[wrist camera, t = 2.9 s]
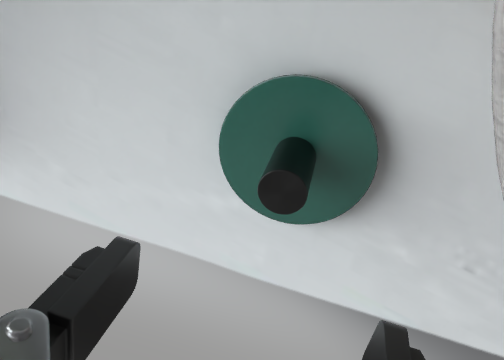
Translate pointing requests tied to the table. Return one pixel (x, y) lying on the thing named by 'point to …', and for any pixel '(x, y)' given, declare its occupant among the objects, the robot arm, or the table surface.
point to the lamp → (498, 85)
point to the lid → (298, 149)
